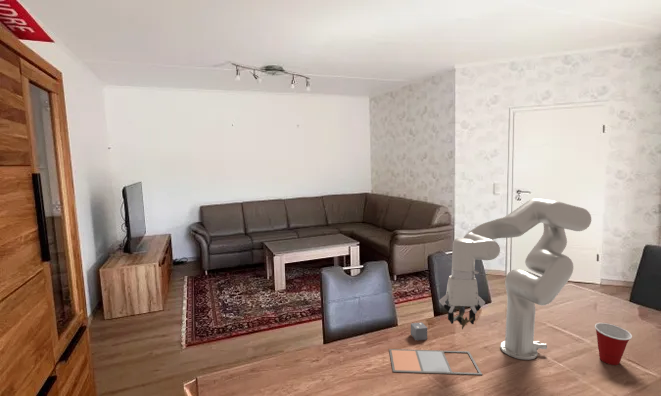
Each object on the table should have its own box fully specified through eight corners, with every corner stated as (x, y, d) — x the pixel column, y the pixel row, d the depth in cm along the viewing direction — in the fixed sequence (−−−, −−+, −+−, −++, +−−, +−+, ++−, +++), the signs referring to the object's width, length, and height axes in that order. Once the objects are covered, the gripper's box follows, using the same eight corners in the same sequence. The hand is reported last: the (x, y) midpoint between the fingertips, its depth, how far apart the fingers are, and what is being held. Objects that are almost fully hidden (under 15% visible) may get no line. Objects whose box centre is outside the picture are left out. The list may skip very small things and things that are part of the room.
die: (421, 333, 154) (422, 322, 153) (427, 339, 149) (427, 327, 148) (410, 334, 153) (410, 323, 152) (415, 340, 148) (415, 328, 147)
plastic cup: (619, 373, 125) (622, 340, 124) (585, 357, 135) (588, 326, 133) (635, 364, 130) (638, 332, 129) (601, 350, 140) (604, 320, 138)
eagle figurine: (479, 326, 128) (469, 311, 136) (469, 311, 126) (459, 297, 135) (460, 336, 129) (451, 321, 137) (450, 322, 127) (441, 308, 136)
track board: (469, 352, 139) (469, 351, 139) (482, 375, 125) (482, 374, 125) (389, 349, 141) (389, 349, 141) (392, 372, 127) (392, 371, 127)
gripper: (484, 270, 131) (482, 318, 133) (435, 270, 132) (434, 317, 135) (492, 277, 124) (490, 327, 126) (440, 277, 125) (438, 326, 127)
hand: (461, 321), depth 130 cm, fingers closed on eagle figurine, 6 cm apart
